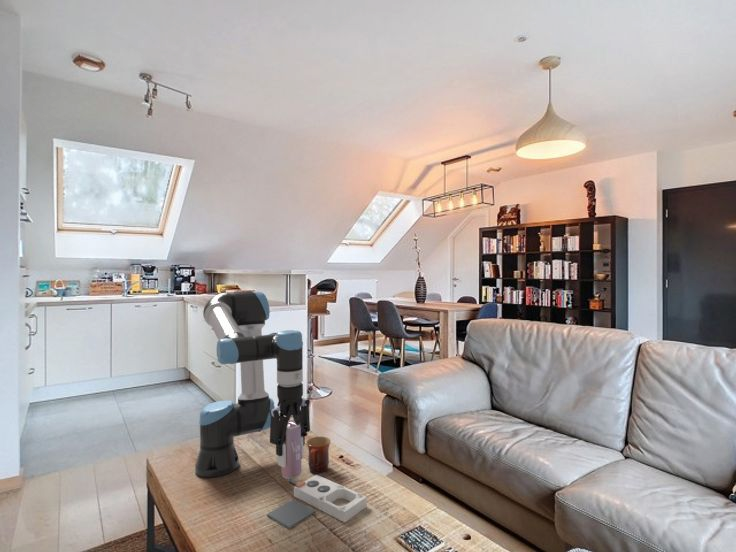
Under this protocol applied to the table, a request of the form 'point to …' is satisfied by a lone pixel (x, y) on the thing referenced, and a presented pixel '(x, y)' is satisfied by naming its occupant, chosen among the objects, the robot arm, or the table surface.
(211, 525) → the table surface
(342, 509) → the strip dock
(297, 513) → the coaster
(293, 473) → the beverage can
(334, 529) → the table surface
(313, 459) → the mug
